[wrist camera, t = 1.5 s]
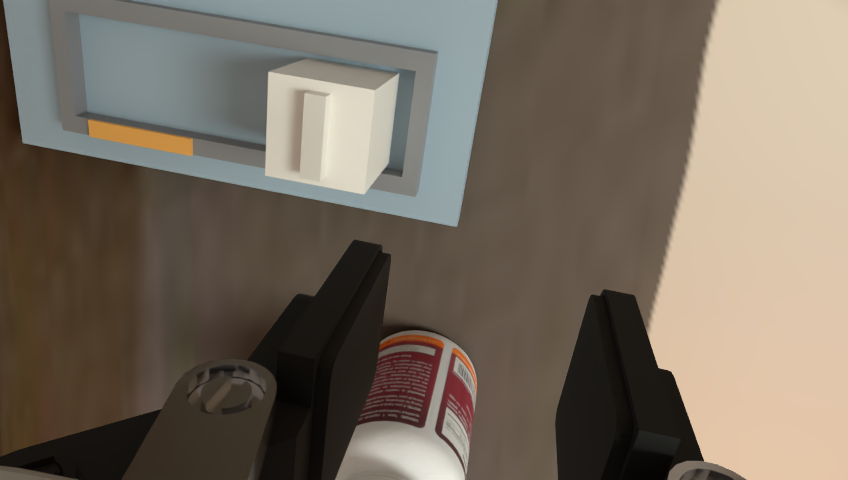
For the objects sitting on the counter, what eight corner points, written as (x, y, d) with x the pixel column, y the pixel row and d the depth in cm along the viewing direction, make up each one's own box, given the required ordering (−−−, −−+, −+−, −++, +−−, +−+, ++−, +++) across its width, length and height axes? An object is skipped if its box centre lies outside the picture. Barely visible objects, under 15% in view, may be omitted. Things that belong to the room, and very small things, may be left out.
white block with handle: (388, 163, 27) (360, 199, 23) (303, 147, 28) (258, 180, 23) (399, 73, 26) (370, 93, 21) (308, 57, 26) (261, 74, 22)
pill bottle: (349, 387, 34) (275, 553, 24) (396, 305, 32) (334, 455, 22) (446, 437, 35) (411, 622, 25) (499, 361, 32) (485, 532, 22)
